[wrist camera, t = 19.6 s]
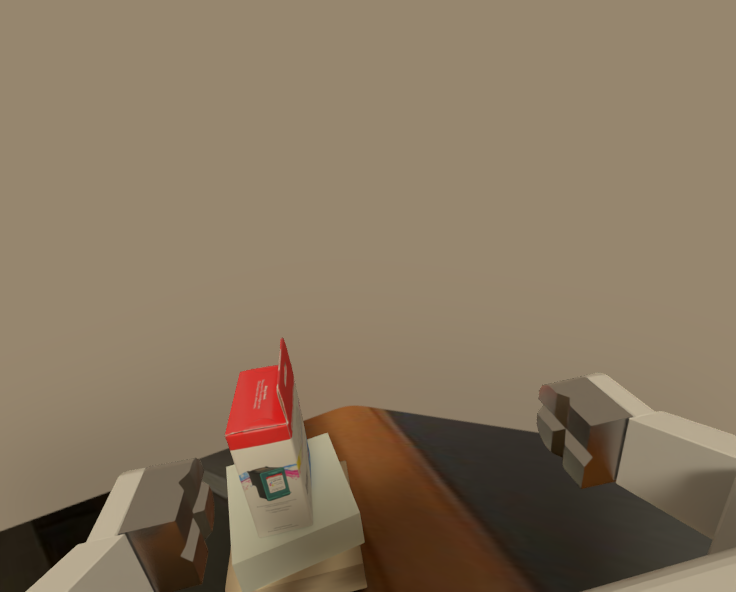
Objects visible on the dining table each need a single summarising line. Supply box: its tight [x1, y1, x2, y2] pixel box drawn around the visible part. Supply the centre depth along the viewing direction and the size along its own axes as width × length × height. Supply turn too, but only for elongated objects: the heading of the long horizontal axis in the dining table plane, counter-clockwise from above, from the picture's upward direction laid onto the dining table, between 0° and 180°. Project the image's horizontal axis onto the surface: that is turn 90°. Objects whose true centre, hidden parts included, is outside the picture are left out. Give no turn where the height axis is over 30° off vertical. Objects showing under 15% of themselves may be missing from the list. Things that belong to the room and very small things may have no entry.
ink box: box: [225, 338, 313, 538], centre depth 35 cm, size 8×5×15 cm, turn 9°
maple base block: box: [225, 461, 367, 592], centre depth 41 cm, size 12×12×4 cm
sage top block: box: [226, 433, 365, 592], centre depth 39 cm, size 11×11×4 cm
